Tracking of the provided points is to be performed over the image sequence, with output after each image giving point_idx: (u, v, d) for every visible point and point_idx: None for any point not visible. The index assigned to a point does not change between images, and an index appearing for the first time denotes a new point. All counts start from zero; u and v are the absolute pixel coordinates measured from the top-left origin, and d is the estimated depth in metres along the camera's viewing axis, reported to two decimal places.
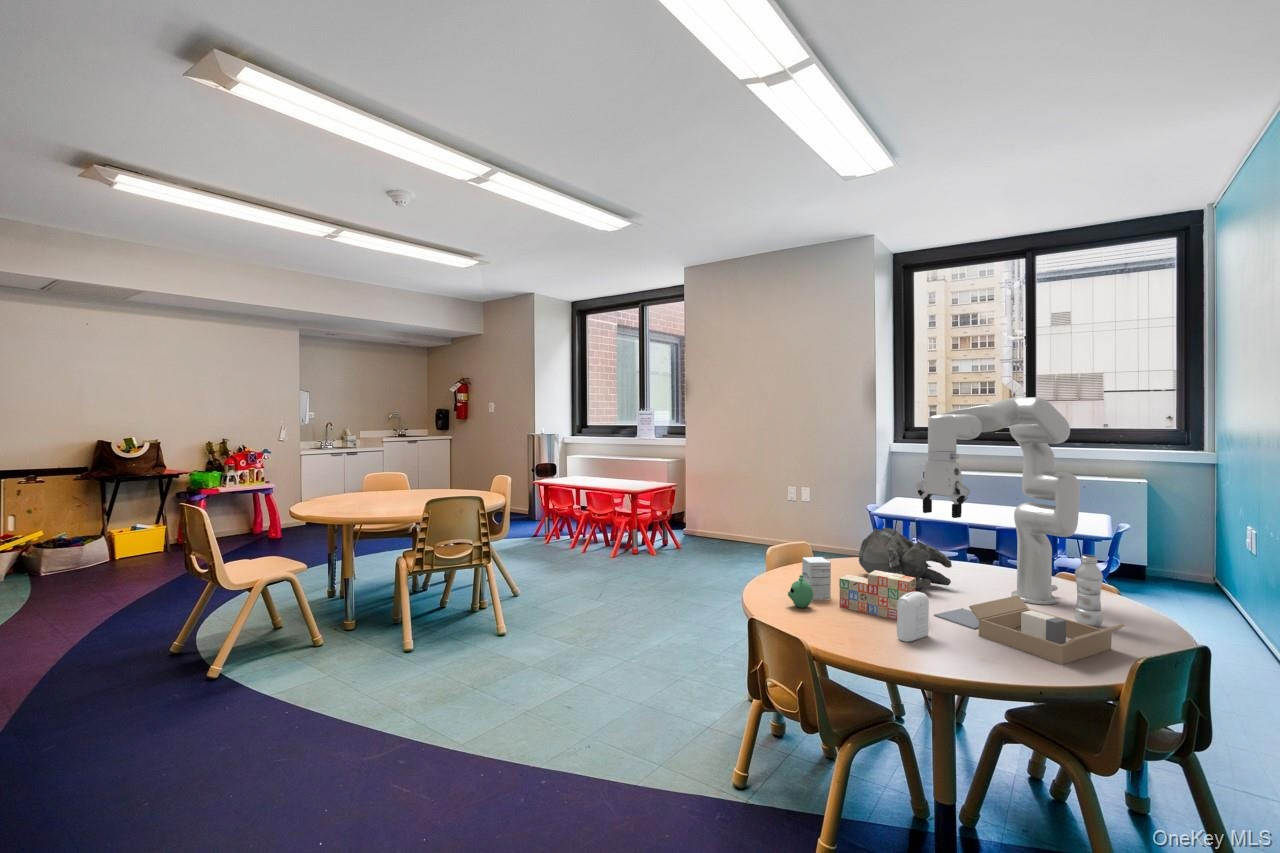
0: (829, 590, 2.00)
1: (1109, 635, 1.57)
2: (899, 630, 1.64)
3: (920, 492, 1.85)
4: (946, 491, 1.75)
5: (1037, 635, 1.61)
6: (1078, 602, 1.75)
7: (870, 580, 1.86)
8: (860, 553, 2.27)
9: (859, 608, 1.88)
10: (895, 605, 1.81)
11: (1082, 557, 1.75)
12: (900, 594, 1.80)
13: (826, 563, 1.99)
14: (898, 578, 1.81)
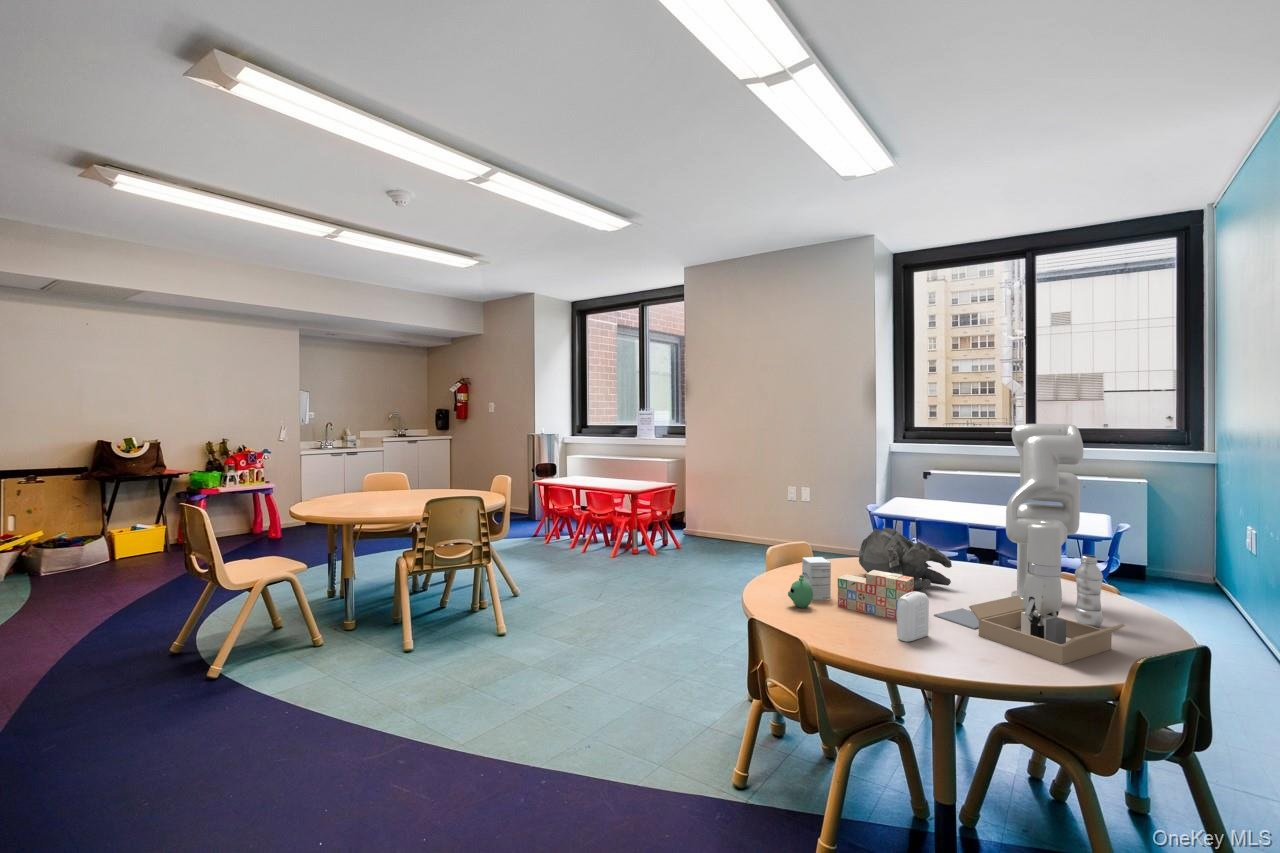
0: (829, 590, 2.00)
1: (1109, 635, 1.57)
2: (899, 630, 1.64)
3: (1036, 619, 1.60)
4: (1058, 606, 1.62)
5: None
6: (1078, 602, 1.75)
7: (868, 580, 1.86)
8: (860, 553, 2.27)
9: (857, 608, 1.89)
10: (893, 605, 1.81)
11: (1082, 557, 1.75)
12: (898, 594, 1.80)
13: (826, 563, 1.99)
14: (896, 578, 1.82)
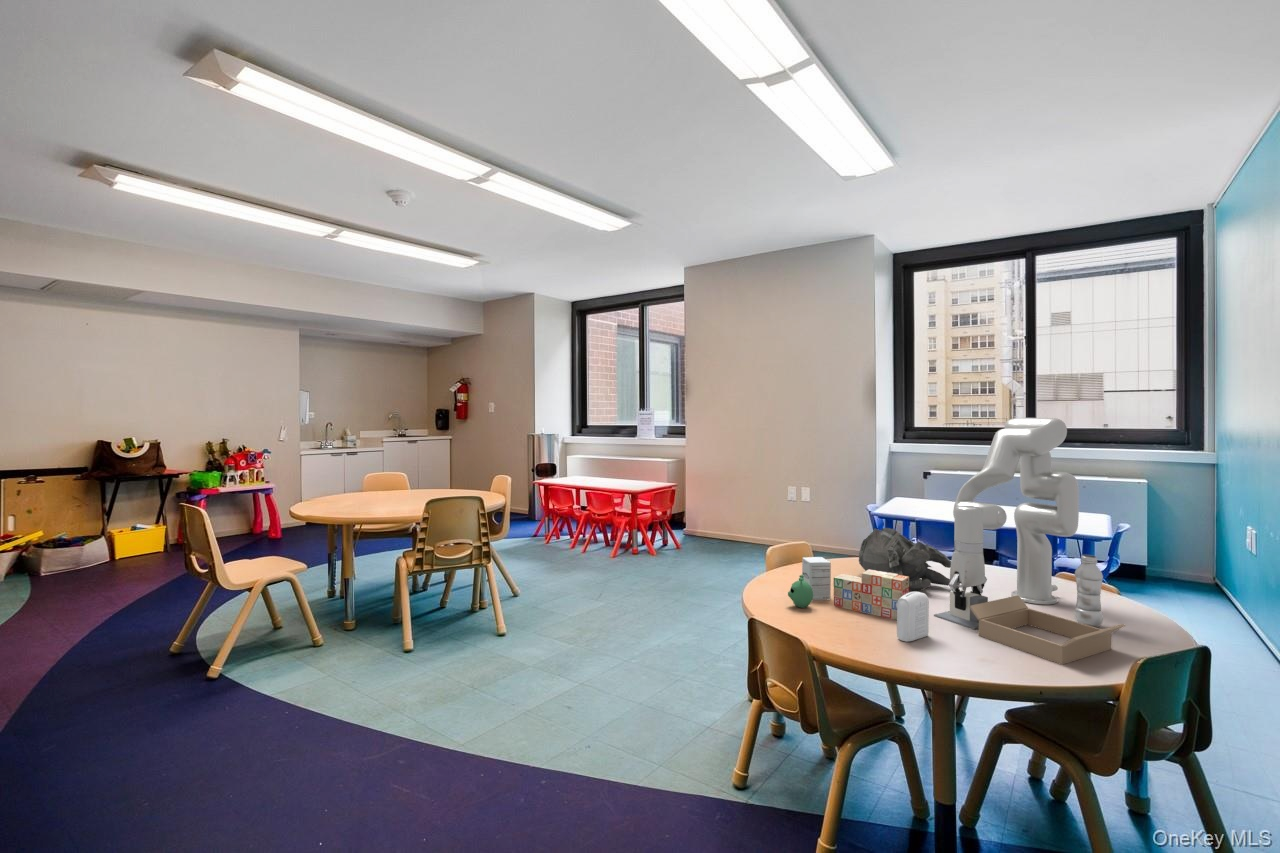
0: (829, 590, 2.00)
1: (1109, 635, 1.57)
2: (899, 630, 1.64)
3: (959, 590, 1.78)
4: (981, 580, 1.80)
5: (963, 611, 1.80)
6: (1078, 602, 1.75)
7: (863, 580, 1.87)
8: (860, 553, 2.27)
9: (853, 607, 1.89)
10: (889, 604, 1.82)
11: (1082, 557, 1.75)
12: (894, 593, 1.81)
13: (826, 563, 1.99)
14: (892, 577, 1.83)
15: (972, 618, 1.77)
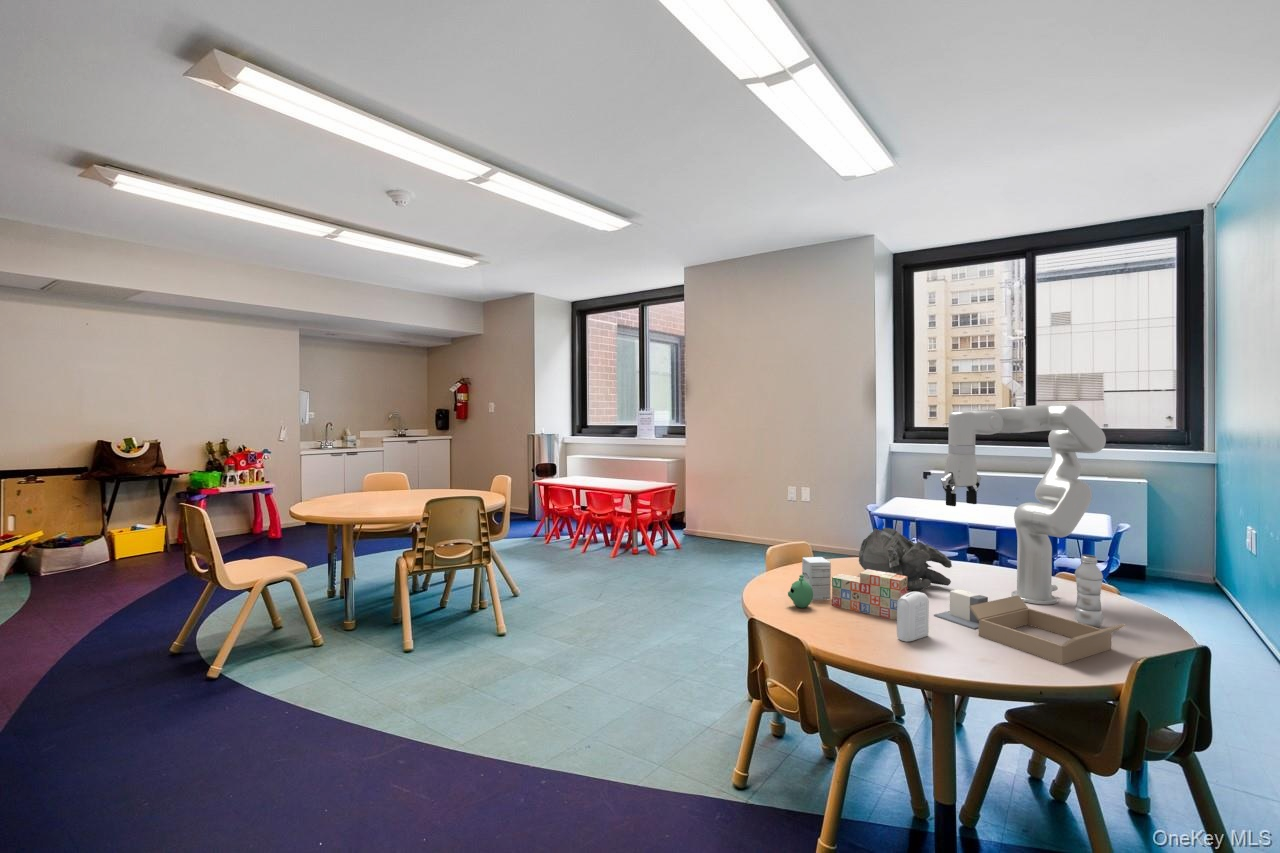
0: (829, 590, 2.00)
1: (1109, 635, 1.57)
2: (899, 630, 1.64)
3: (949, 487, 1.88)
4: (974, 481, 1.91)
5: (963, 611, 1.80)
6: (1078, 602, 1.75)
7: (862, 579, 1.87)
8: (860, 553, 2.27)
9: (851, 607, 1.90)
10: (887, 604, 1.82)
11: (1082, 557, 1.75)
12: (892, 593, 1.81)
13: (826, 563, 1.99)
14: (890, 577, 1.83)
15: (972, 618, 1.77)
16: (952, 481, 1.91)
